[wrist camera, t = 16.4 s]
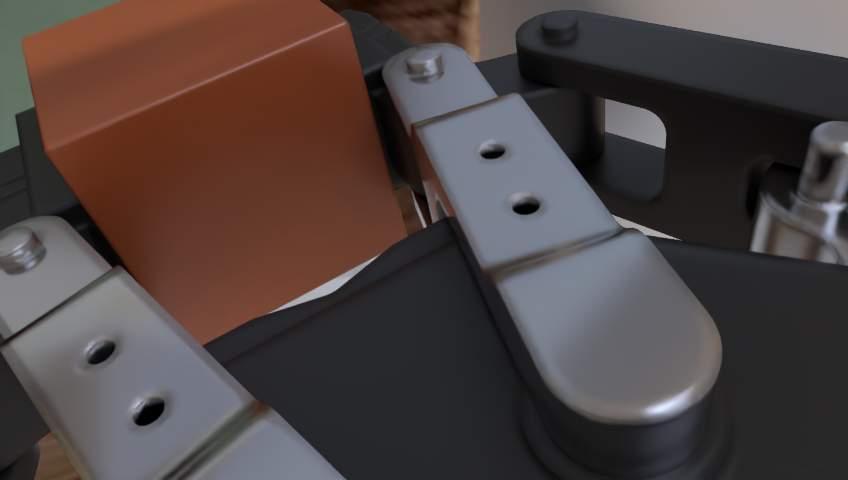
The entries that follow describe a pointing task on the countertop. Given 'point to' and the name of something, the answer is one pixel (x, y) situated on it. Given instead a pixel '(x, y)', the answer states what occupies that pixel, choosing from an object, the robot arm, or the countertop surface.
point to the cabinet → (4, 59)
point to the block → (218, 149)
